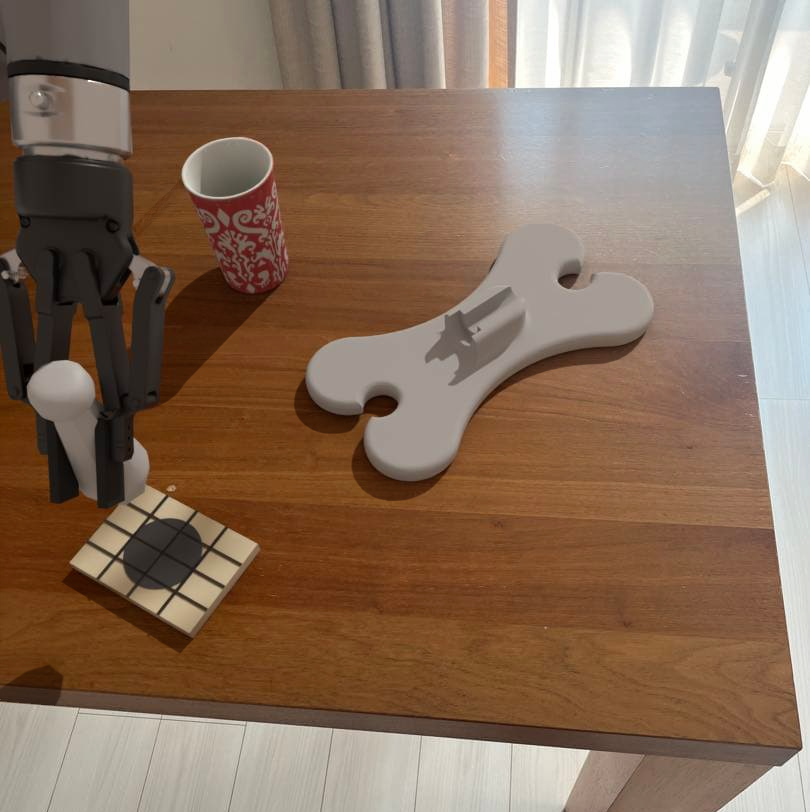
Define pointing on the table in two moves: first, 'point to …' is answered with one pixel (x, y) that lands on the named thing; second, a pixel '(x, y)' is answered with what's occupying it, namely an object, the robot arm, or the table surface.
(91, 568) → the grid board
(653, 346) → the table surface
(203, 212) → the mug
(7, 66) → the robot arm
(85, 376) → the white pawn
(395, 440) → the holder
